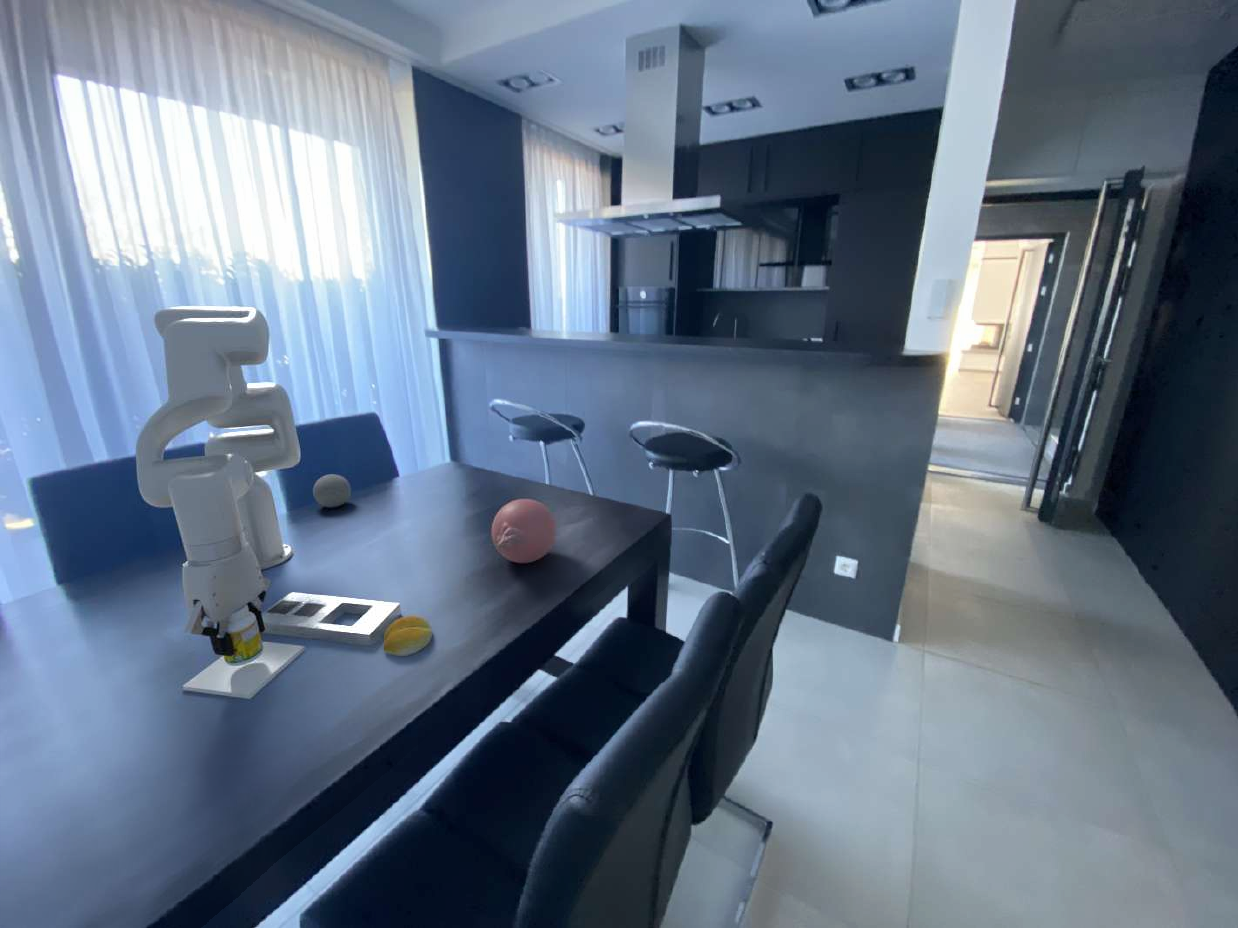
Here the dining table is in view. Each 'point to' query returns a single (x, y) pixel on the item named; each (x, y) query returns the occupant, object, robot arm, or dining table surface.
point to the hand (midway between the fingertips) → (240, 641)
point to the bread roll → (407, 636)
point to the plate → (244, 672)
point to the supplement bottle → (243, 637)
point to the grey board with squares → (329, 618)
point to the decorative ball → (332, 490)
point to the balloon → (523, 530)
